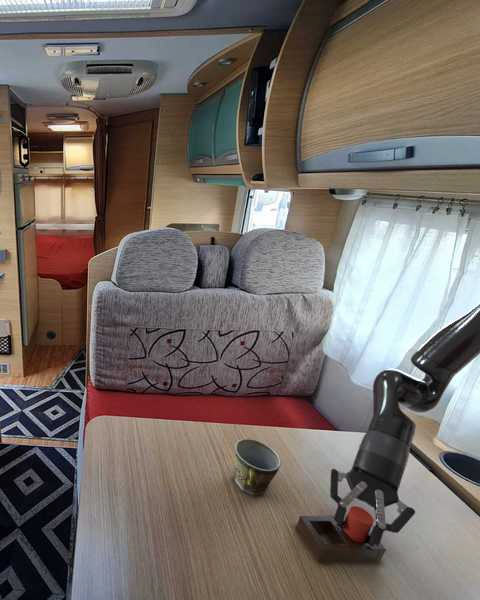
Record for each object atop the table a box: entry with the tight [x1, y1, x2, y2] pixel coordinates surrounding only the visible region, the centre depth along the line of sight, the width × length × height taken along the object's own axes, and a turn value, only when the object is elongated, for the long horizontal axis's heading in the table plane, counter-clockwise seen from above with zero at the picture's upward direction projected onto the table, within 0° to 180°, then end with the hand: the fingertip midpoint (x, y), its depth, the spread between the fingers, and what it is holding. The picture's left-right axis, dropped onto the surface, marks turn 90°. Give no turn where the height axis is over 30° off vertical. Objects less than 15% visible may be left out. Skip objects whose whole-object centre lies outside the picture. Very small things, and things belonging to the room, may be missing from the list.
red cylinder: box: [342, 505, 375, 544], centre depth 68 cm, size 4×4×9 cm
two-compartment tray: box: [295, 515, 387, 563], centre depth 69 cm, size 13×7×4 cm, turn 91°
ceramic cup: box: [234, 438, 282, 496], centre depth 80 cm, size 13×10×10 cm
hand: (354, 535), depth 67 cm, fingers open, 4 cm apart
